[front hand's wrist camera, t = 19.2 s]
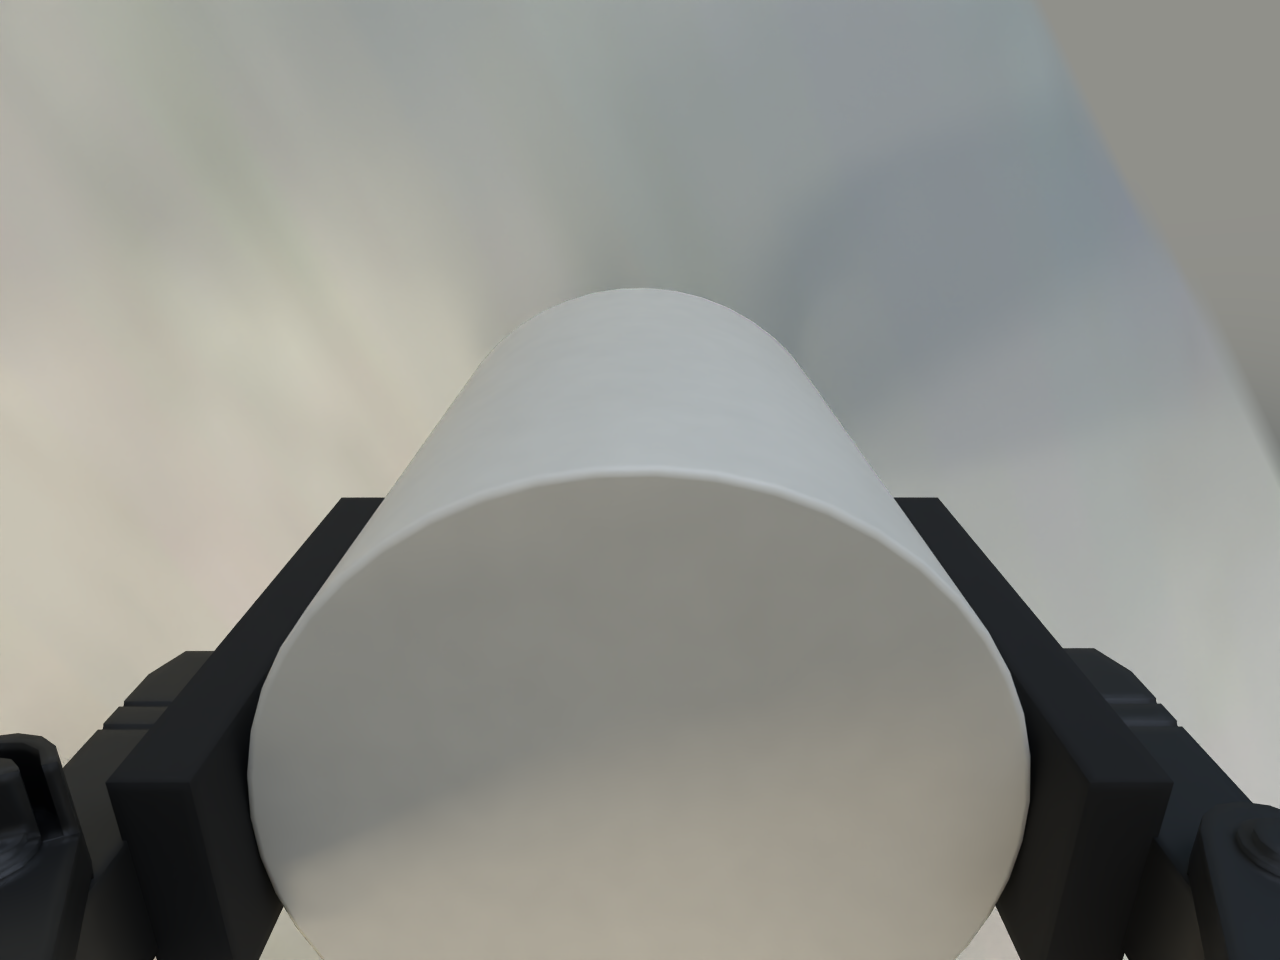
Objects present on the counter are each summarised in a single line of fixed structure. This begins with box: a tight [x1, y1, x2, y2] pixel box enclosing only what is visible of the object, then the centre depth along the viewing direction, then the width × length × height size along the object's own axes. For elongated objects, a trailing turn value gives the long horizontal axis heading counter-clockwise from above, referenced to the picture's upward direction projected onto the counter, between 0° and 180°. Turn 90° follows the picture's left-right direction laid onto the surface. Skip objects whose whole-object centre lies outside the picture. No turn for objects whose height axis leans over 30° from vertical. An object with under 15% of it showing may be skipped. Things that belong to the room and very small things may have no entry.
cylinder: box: [247, 288, 1030, 960], centre depth 13 cm, size 8×8×10 cm
